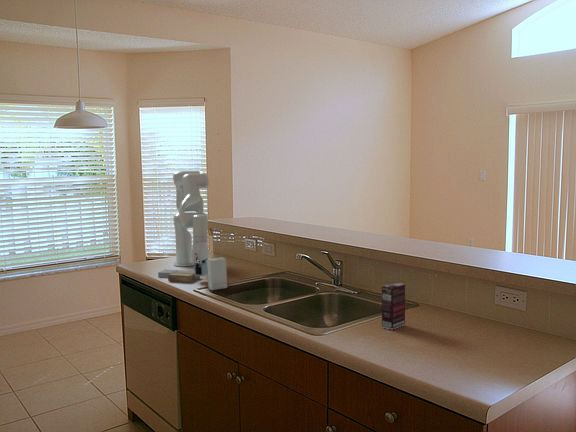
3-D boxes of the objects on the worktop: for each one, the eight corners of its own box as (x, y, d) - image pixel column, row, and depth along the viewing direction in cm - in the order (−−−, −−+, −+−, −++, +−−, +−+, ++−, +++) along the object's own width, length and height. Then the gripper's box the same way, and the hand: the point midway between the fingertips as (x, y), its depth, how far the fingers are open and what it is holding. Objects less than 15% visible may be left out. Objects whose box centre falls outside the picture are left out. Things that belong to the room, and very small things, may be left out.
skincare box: (223, 286, 262) (222, 256, 261) (227, 288, 257) (227, 258, 255) (207, 287, 259) (206, 258, 257) (211, 290, 253) (210, 260, 252)
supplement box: (394, 322, 200) (395, 281, 198) (405, 325, 196) (406, 284, 194) (380, 328, 194) (381, 285, 192) (391, 331, 190) (392, 288, 189)
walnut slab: (180, 277, 285) (179, 270, 284) (199, 279, 281) (199, 271, 280) (168, 282, 273) (168, 274, 273) (188, 283, 269) (188, 276, 269)
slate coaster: (165, 274, 292) (165, 269, 292) (178, 275, 290) (178, 270, 290) (158, 277, 284) (158, 272, 284) (171, 278, 282) (171, 273, 282)
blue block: (199, 273, 275) (199, 262, 275) (207, 274, 274) (207, 262, 273) (194, 275, 271) (194, 264, 270) (203, 276, 269) (203, 264, 268)
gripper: (201, 235, 279) (202, 269, 281) (185, 241, 263) (186, 276, 265) (214, 236, 276) (215, 270, 279) (198, 241, 260) (199, 277, 263)
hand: (201, 272), depth 272 cm, fingers closed on blue block, 5 cm apart
